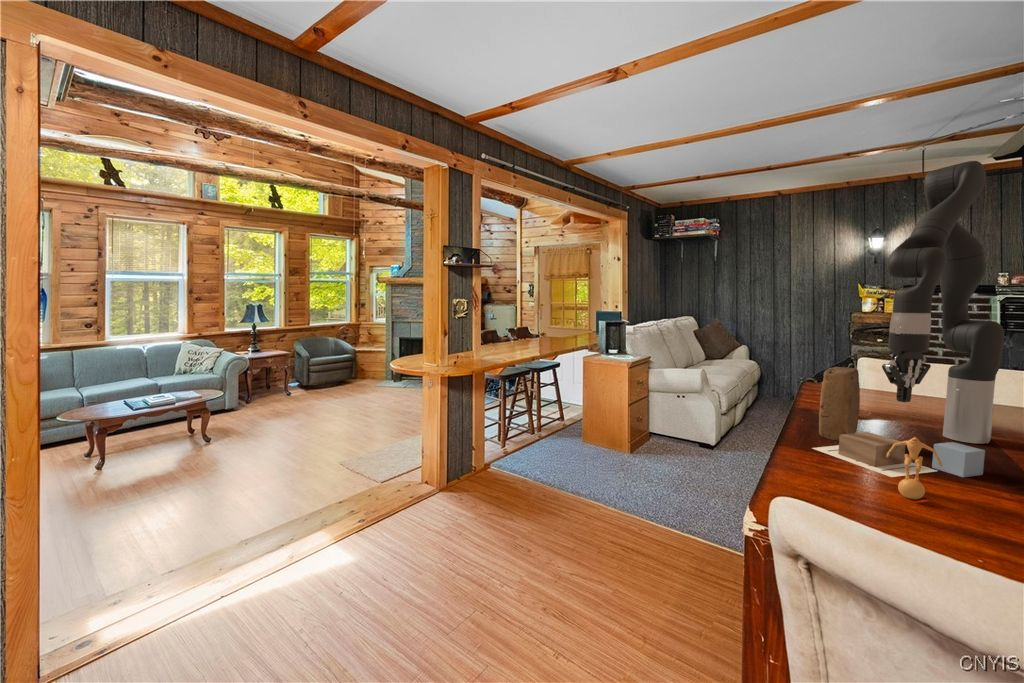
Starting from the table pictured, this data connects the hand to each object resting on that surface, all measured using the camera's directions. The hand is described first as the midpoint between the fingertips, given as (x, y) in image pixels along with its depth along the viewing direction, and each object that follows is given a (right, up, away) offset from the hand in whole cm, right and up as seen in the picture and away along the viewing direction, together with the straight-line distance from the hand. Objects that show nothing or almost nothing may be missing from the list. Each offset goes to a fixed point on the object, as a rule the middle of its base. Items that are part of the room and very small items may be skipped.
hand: (903, 401), depth 112 cm
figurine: (-17, -16, -22) cm, 32 cm away
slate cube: (+4, -15, -9) cm, 18 cm away
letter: (-9, -14, -1) cm, 17 cm away
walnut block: (-9, -14, -1) cm, 17 cm away
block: (-4, -13, +17) cm, 21 cm away
